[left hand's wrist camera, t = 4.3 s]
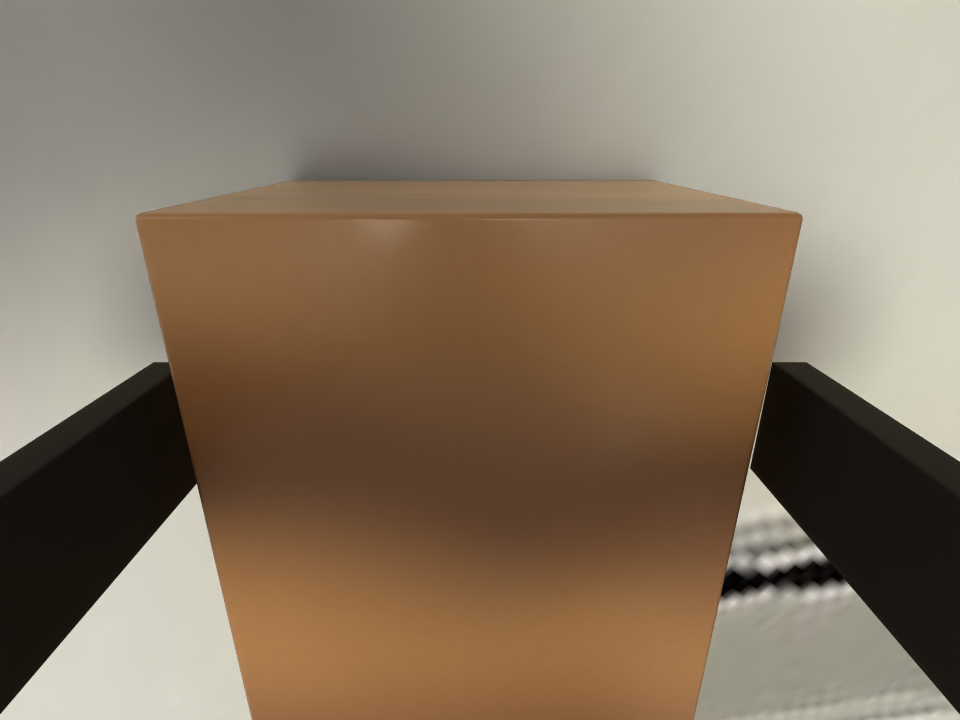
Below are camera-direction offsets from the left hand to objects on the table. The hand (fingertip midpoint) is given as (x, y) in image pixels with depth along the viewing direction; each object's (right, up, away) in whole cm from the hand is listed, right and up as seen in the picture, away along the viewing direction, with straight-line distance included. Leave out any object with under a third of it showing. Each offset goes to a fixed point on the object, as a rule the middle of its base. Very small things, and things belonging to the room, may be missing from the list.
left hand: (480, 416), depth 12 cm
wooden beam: (0, -19, +13) cm, 23 cm away
